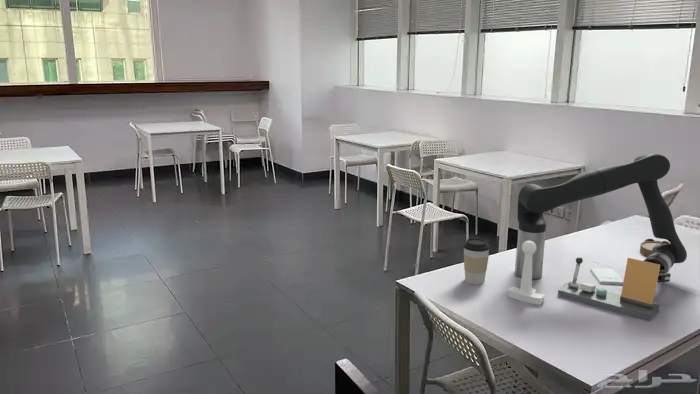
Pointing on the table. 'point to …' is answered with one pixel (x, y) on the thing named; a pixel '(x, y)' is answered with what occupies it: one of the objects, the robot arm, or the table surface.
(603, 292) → the push button
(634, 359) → the table surface
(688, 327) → the table surface
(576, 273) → the toggle lever
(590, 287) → the block
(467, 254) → the coffee cup
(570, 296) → the panel
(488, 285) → the table surface
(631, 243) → the table surface
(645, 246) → the alarm clock
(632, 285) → the tan flat slab
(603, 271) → the external hard drive
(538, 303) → the joystick
